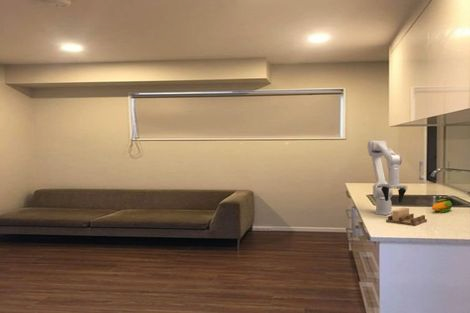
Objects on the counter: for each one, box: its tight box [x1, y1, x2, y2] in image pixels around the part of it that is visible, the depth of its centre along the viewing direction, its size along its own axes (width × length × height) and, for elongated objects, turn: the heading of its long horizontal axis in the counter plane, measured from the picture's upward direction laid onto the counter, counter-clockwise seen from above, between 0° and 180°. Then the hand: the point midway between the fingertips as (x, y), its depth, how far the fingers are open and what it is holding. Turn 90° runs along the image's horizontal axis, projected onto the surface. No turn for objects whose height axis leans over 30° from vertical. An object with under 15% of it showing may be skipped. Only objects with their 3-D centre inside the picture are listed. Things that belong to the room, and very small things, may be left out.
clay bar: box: [391, 207, 410, 221], centre depth 231 cm, size 14×3×5 cm, turn 136°
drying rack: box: [385, 213, 428, 227], centre depth 229 cm, size 16×15×3 cm
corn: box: [431, 198, 453, 214], centre depth 258 cm, size 7×8×20 cm
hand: (393, 201), depth 238 cm, fingers open, 7 cm apart
